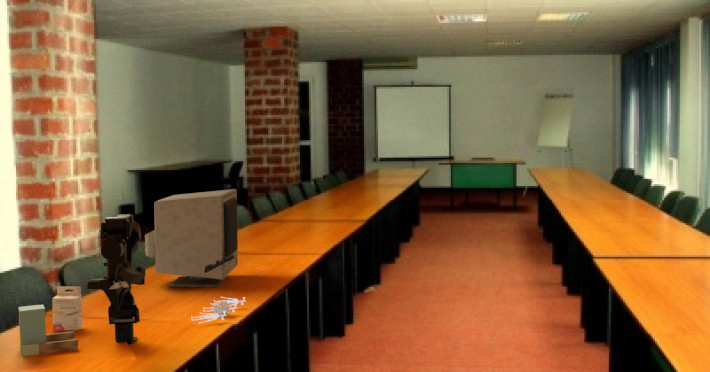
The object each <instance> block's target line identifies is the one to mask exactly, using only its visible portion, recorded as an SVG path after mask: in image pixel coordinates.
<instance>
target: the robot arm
mask: <svg viewBox="0 0 710 372" xmlns="http://www.w3.org/2000/svg"><path fill="white" fill-rule="evenodd" d="M101 224H102V225H101V231H100V232H101V234H100V241H105V242H104V243H103V244H102V245H101V247H100V254H101V256H102V257H103V258H104V259H105V260H106V262H103V267H106V276H105V275H104V276H103V278H93V279H92V278H91V279H89V280H88V281H87V283H86V286H87V287H86V288H87V290H101V291H103V292H104V294H105V295H106V297H107V299H108V301H109V302H110V304H109V305H108V311H107V313H108V314H107V315H108V323H109V325H114V340H115V342H116V343H126V344H128V345H131V344H133V343H134V342H135V341H137V339H138V337H137V336H134V333H135V332H134V324H137V323H140V321H141V319H140V309H139V308H138V304H137V303H136V301H135V297H134V295H133V294H132V289H133V287H132V285H137V286H141V285H143V286H144V285H145V284H146V283H145V282H146V281H145V278H146V268H145V267H144V266H137V267H136V268H135V267H134V268H133V263H134V262H133V261H134V255H135V253H136V252H137V251H138V249H139V248H140V247H139V244H140V242H141V241H142V232H141V225H140V224H139V223H138V222H137V221H136V220H134V215H133V214H130V213H129V214H126V213H125V214H117V215H116V216H115V217H111V216H110V217H105V218H104V221H102V223H101Z"/></svg>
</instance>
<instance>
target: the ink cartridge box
mask: <svg viewBox="0 0 710 372" xmlns="http://www.w3.org/2000/svg"><path fill="white" fill-rule="evenodd" d="M81 288H82V287H81V286H74V285H73V286H71V285H69V286H56V293H57V294H56V295H55V296H54V297H52V299H51V300H52V301H51V302H52V305H51V306H52V309H51V310H52V311H51V312H52V332H53V333H54V332H55V333H56V332H66V331H79V330H82V329H83V300H82V299H83V297H82V289H81ZM67 290H69V291H67ZM70 290H71V291H70Z"/></svg>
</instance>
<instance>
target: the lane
mask: <svg viewBox="0 0 710 372" xmlns="http://www.w3.org/2000/svg"><path fill="white" fill-rule="evenodd" d="M76 350H79V340H78V338H76V339H75V330H72V331H67V332H66V331H63V332H58V333H56V332H55V333H48V334H47V333H46V343H39V354H38V355H43V354H50V353H51V354H52V353H53V354H54V353H61V352H68V351H69V352H70V351H76Z"/></svg>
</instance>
